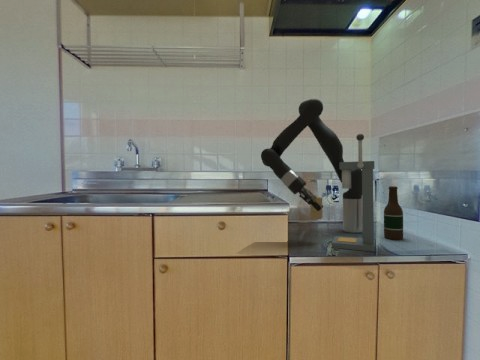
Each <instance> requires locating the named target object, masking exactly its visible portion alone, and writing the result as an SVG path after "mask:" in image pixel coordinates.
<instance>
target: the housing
mask: <svg viewBox="0 0 480 360" xmlns="http://www.w3.org/2000/svg"><path fill="white" fill-rule="evenodd" d="M313 199H314V200H315V202H316V203H317V204H319V205H320V206H321V209H320V210H319V211H317V210H316V209H315V208H314V207H313V206H312V205H309V206H310V210H309V211H310V212H309V213H310V219H313V220H322V219H323V208H322V205H323V197H321V196H319V195H318V194H314V197H313Z"/></svg>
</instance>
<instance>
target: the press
mask: <svg viewBox="0 0 480 360" xmlns="http://www.w3.org/2000/svg"><path fill="white" fill-rule="evenodd" d="M355 138H356V140H357V143H358V144H357V147H358V149H357V150H358V156H357V157H358V159H357V160H358V161H344V162H339V168H340V170H342V183H341V189H343V190H344V189H348V190H349V189H350V188H351V169H361V170H362V237H354V236H353V237H351V236H350V237H349V236H341V235H340V236H339V235H334V237H333V240H332V241H331V248H333V249H342V250H343V249H344V250H354V251H363V252H372V253H373V252H374V253H376V240H375V235H374V234H375V233H374V232H375V231H374V229H375V227H374V223H375V222H374V215H375V214H374V212H375V211H374V169H375V160H364V161H363V140H364V139H365V135H364V134H363V133H358V134H356V137H355Z"/></svg>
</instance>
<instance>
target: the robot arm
mask: <svg viewBox="0 0 480 360" xmlns="http://www.w3.org/2000/svg"><path fill="white" fill-rule="evenodd" d="M323 112H324V104H323V102H322V101H321V100H320V99H318V98H311V99H308V100H304V101H302V102H300V104H299V106H298V114H299V115H298V117H297V118H296V119H294V121H293V122H292V123H290V124H288V126H286V127H284V129H283V130H281V132H280V133H279V134H278V136H277V137H276V138H275V139H274V141H273V142H272V145H271V146H270V148H265V149H263V150H262V152H261V153H260V159H261V161H262V164H263V165H264V166H265V167H269V168H270V169H271V170H272V171H273V173H274V175H275V176H276V177H277V178H278V179H279V180H280V181H281V182H282V184H283V185H284V186H285V187H286V188H288V190H289V191H290V192H291V193H292V194H293V195H297V194H299V195H298V196H299V197H300V198H301V199H302V200H303V201H304V202H305V203H306V204H307V205H309V206H310V205H312V206H313V207H314V208H315V209H316V210H317V211H319V210H320V209H321V206H320V205H319V204H317V203H316V202H315V200H314V199H313V197H314V195H315V194H314V193H313V192H312V191H311V190H310V189H308V188H306V185H307V182H306V181H305V180H304V179H303V178H302V177H301V176H300V175H299V174H298V173H297V172H295V171H294V169H292V168H291V167H290V166H289V165H288V164H287V163H285V162H284V160H283V159H282V158H281V156H282V155H283V153H284V152H285V151H286V150H287V148H289V147H290V145H291V144H292V143H293V141H295V139H296V138H297V137H298V136H299V135H300V134H301V133H302V132H303V131H304V130H305V129H306V128H307V127H308V128H309V130H310V131H311V132H312V135H314V137H315V138H316V141H317V142H318V144H319V146H320V148H321V149H322V151H323V153H324V154H325V156H326V157H327V158H328V160H329V163H330V164H331V165H332V166H333V169H334V171H335V173H336V176H337V177H338V180H339V181H340V183H341V184H342V170H340V168H339V162H345V161H344V157H343V156H344V155H343V154H344V147H343V143H342V142H341V141H340V139H339V137H338V135H337V133H335V132H334V130H332V129H331V128H329V126H328V125H326V124H325V123H324V122H323V120H322V119H321V118H320V116H321V114H322V113H323ZM323 208H324V205H323V204H322V209H323ZM342 231H343V232H346V233H354V234H355V233H363V225H362V169H351V188H350V189H348V190H346V191H345V192H343V193H342Z"/></svg>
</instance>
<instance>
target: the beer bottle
mask: <svg viewBox="0 0 480 360" xmlns="http://www.w3.org/2000/svg"><path fill="white" fill-rule="evenodd" d="M387 189H388V202H387V204H386V205H385V206H384V209H383V237H384V238H385V239H387V240H390V241H391V240H392V241H401V240H403V239H404V211H403V208H402V207H401V205H400V204H399V198H398V197H399V196H398V186H395V185H393V186H388V188H387Z"/></svg>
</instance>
